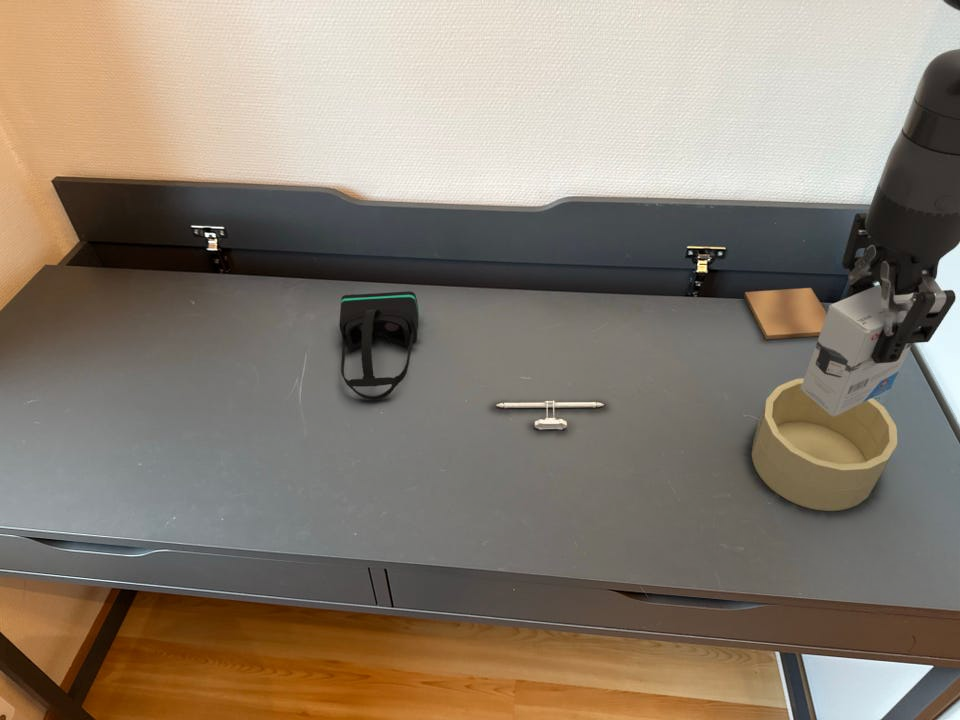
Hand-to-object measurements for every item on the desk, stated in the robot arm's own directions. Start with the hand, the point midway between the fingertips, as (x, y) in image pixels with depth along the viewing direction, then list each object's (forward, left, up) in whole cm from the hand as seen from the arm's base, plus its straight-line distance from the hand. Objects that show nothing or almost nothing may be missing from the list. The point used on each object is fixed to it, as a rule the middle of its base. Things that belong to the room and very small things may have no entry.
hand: (866, 336), depth 70 cm
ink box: (0, 0, -8) cm, 8 cm away
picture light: (+30, -10, -20) cm, 38 cm away
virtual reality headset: (+53, -23, -20) cm, 61 cm away
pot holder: (-7, -27, -20) cm, 34 cm away
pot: (0, 0, -20) cm, 20 cm away
